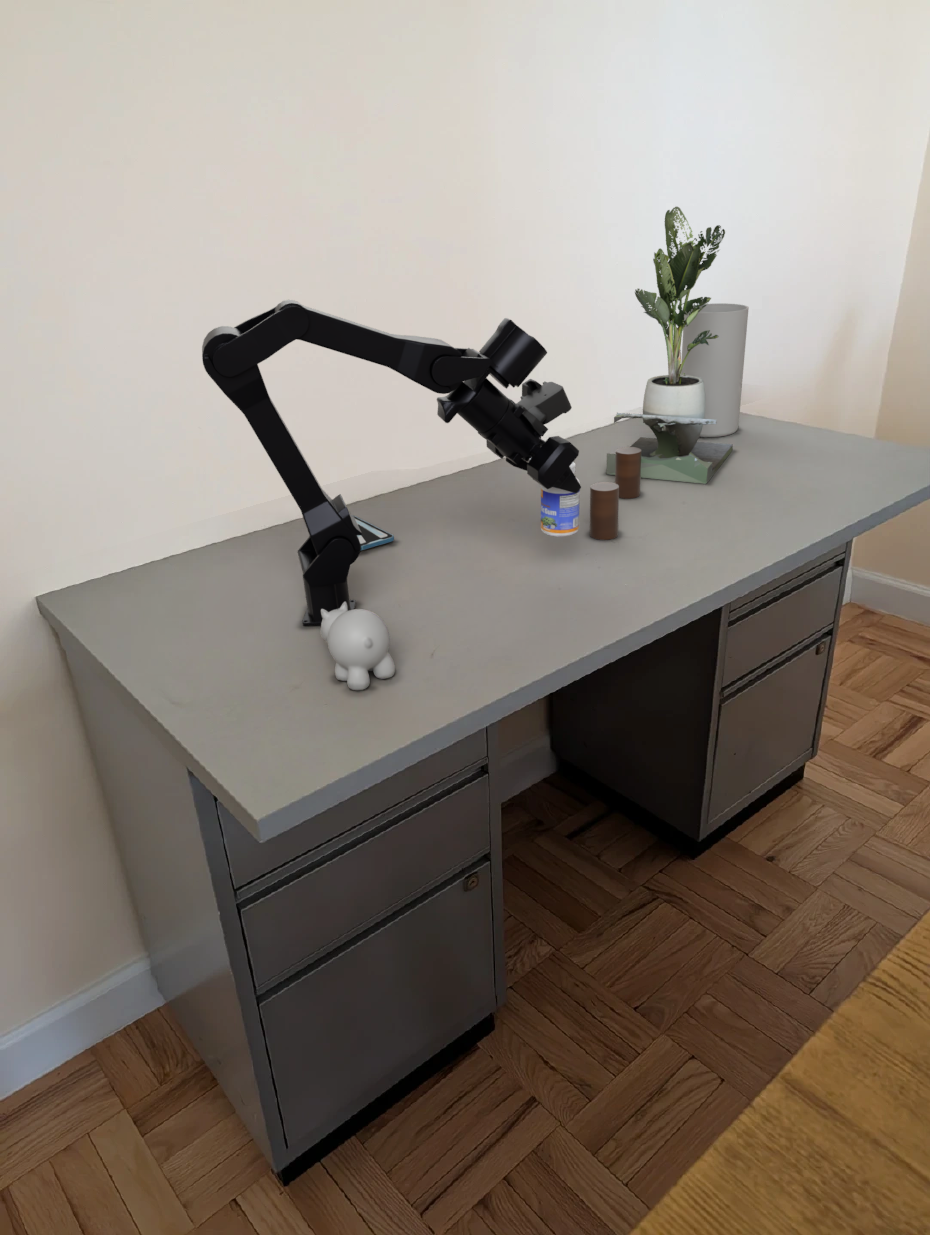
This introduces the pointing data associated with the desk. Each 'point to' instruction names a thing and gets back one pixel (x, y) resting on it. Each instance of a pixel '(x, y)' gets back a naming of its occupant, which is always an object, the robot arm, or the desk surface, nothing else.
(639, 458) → the far peg
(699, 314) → the cylinder vase
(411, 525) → the desk surface
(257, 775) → the desk surface
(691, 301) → the potted plant
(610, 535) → the near peg
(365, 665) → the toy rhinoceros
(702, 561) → the desk surface
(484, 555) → the desk surface
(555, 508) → the pill bottle
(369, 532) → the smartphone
